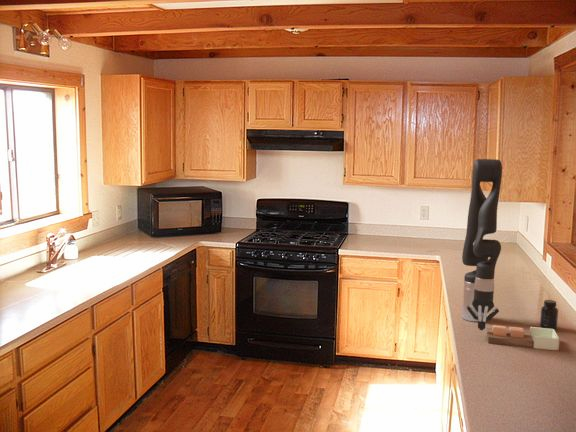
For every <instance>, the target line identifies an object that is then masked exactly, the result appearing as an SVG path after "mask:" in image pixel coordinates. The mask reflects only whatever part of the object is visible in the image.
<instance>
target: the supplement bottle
mask: <svg viewBox="0 0 576 432" xmlns="http://www.w3.org/2000/svg"><path fill="white" fill-rule="evenodd" d="M539 319H540V321H539V328H548V329H554V330H555V331H557V329H558V319H559V309H558V308H557V301H556V300H554V299H545V300H543V306H542V307H541V309H540V318H539Z"/></svg>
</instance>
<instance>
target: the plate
mask: <svg viewBox="0 0 576 432" xmlns="http://www.w3.org/2000/svg"><path fill="white" fill-rule="evenodd" d="M485 329H486V331H485V334H486V339H487V343H488V344H494V345H504V346H512V347H513V346H514V347H525V348H533V347H534V340H533V338H532V336H531V333H530V331H529V332H528V331H524V338H518V337H510V334H509V329H508V330H507V329H506V330H507V333H506V336H497V335H493V332H492V328H487V327H485ZM533 349H534V348H533Z"/></svg>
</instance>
